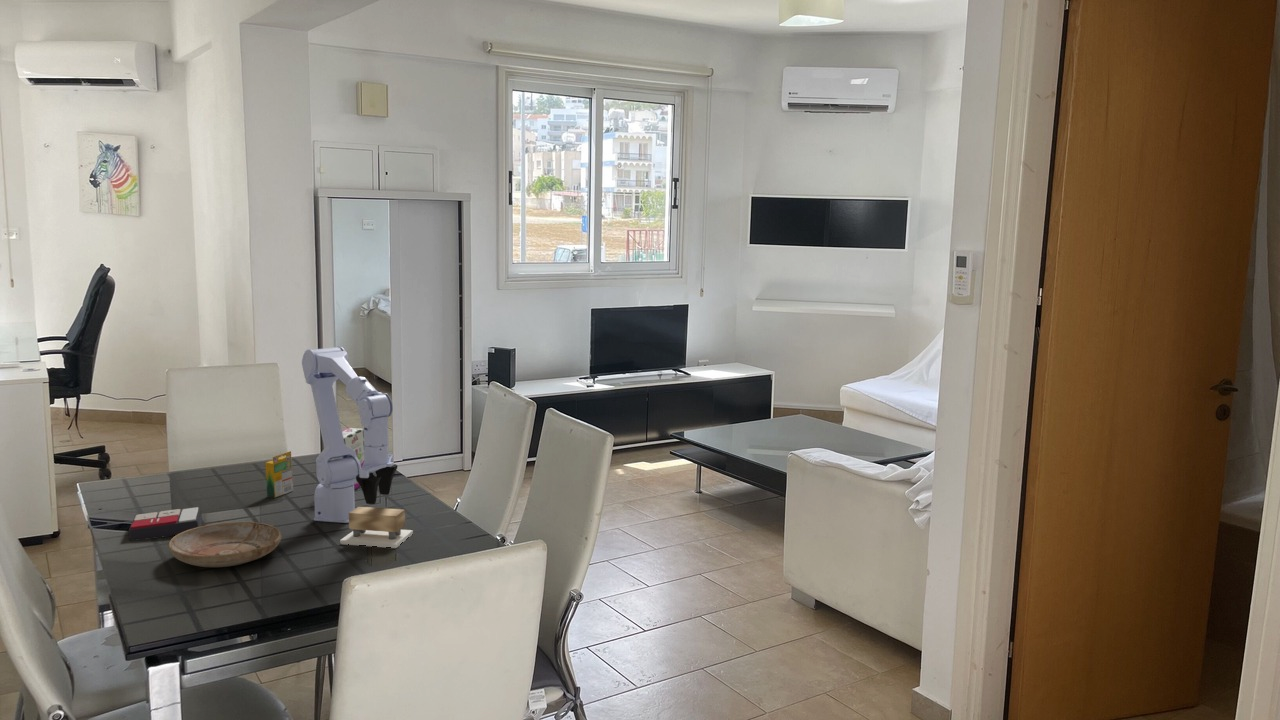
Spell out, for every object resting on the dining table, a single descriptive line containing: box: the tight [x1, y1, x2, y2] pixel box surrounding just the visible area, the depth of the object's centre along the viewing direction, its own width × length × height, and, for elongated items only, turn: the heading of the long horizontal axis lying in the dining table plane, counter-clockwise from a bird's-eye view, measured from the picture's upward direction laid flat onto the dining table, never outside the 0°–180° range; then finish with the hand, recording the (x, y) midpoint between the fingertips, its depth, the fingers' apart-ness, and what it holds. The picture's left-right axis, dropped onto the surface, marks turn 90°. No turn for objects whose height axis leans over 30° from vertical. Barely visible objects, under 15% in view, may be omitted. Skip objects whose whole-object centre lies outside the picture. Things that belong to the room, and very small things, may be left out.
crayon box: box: [265, 450, 294, 499], centre depth 262 cm, size 7×3×12 cm, turn 159°
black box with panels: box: [128, 506, 203, 541], centre depth 232 cm, size 11×4×15 cm
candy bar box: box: [330, 427, 365, 491], centre depth 267 cm, size 11×5×16 cm, turn 168°
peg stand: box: [339, 529, 414, 549], centre depth 227 cm, size 14×10×3 cm
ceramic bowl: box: [168, 521, 282, 568], centre depth 214 cm, size 23×24×5 cm
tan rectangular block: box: [348, 506, 406, 532], centre depth 227 cm, size 12×5×4 cm, turn 81°
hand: (377, 498), depth 229 cm, fingers open, 7 cm apart
